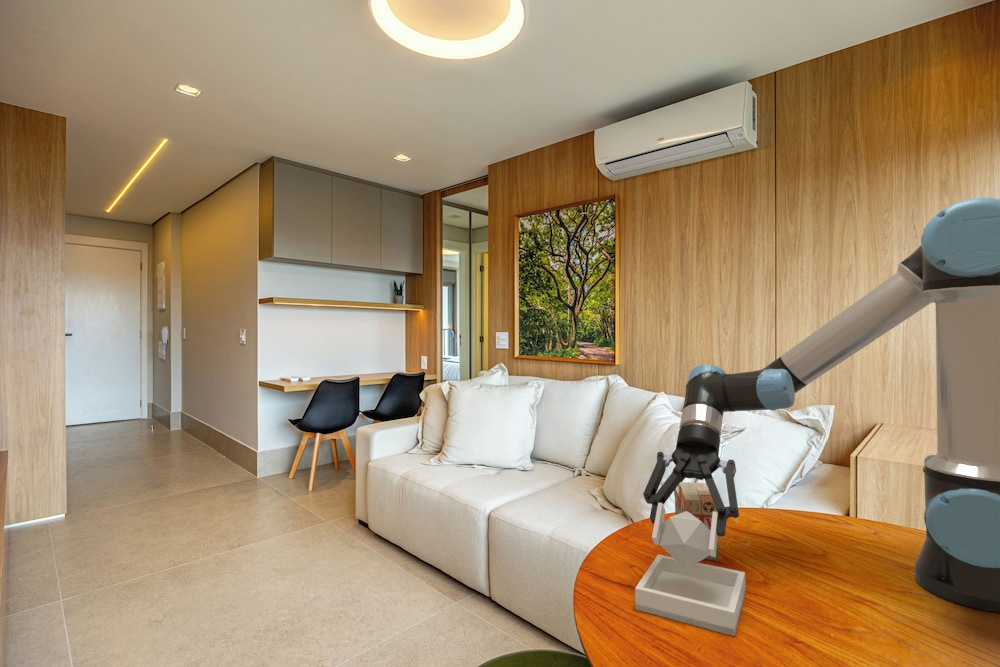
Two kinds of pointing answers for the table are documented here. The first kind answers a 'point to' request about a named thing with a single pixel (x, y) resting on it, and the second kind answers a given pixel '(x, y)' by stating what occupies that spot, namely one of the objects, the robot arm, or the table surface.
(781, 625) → the table surface
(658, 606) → the tray
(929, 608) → the table surface
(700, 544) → the die
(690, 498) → the stack of blocks
